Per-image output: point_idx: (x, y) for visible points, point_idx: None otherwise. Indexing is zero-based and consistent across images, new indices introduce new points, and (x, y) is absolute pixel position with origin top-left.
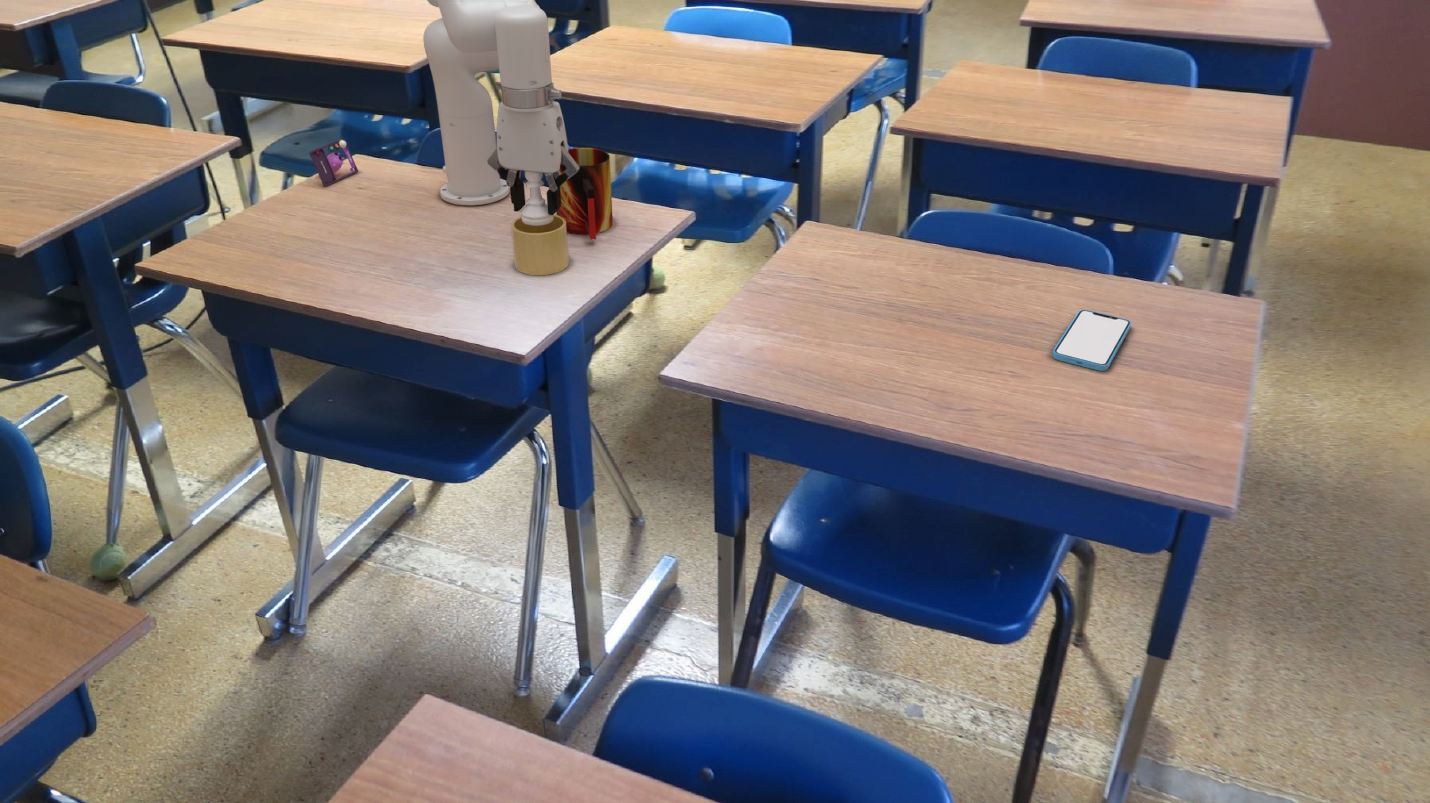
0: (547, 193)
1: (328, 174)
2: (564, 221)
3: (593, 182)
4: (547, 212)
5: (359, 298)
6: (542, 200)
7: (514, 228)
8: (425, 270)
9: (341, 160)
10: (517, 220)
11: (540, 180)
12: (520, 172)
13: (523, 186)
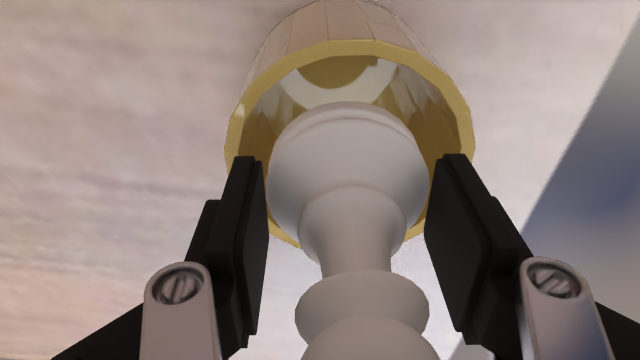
0: (462, 333)
1: None
2: (464, 119)
3: None
4: (414, 220)
5: (35, 328)
6: (396, 246)
7: (271, 228)
8: (45, 203)
9: None
10: (239, 152)
11: (407, 322)
12: (219, 343)
13: (248, 240)
